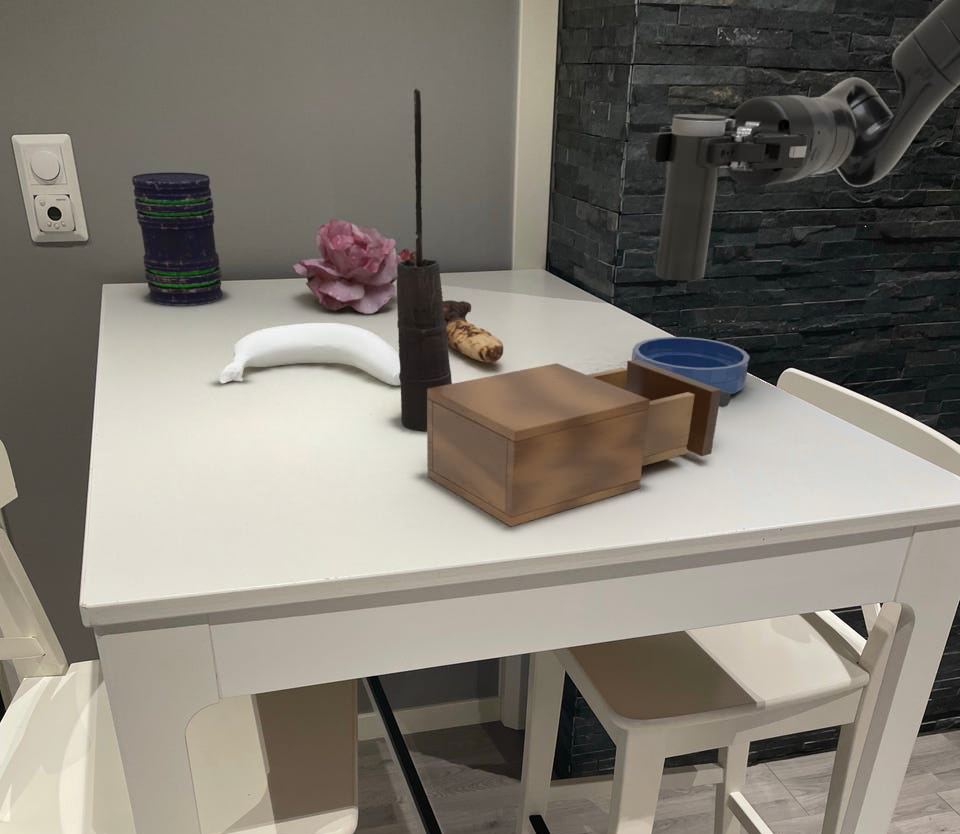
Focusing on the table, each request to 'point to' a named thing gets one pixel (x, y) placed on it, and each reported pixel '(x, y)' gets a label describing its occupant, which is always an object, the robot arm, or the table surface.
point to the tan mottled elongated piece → (469, 334)
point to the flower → (352, 267)
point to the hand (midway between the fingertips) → (678, 150)
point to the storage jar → (178, 237)
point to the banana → (315, 350)
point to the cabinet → (535, 441)
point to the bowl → (697, 360)
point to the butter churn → (420, 317)
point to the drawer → (671, 409)
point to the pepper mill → (688, 199)
